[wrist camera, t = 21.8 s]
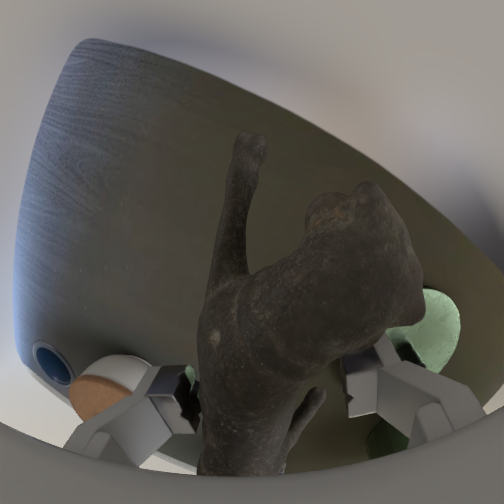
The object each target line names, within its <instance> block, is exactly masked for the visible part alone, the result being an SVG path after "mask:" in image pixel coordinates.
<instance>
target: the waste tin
mask: <svg viewBox="0 0 504 504" xmlns="http://www.w3.org/2000/svg"><path fill="white" fill-rule="evenodd" d="M408 443H409V438H408V437H407V436H405V435H404V434H403V433H401V432H400V431H399V430H398V429H396V428H395V427H394V426H392V425H391V424H390V423H388V422H387V421H386V420H385V419H384V420H383V421H382V422H380V423H379V424H378V425H377V426H376V427H375V428H374V429H373V431H372V432H371V433H370V435H369V437H368V439H367V453H368V457H369V460H372V459H376V458H379V457H383V456H387V455H390V454H394V453H397V452H400V451H403V450H406V449H407V446H408Z"/></svg>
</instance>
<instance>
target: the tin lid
mask: <svg viewBox="0 0 504 504" xmlns="http://www.w3.org/2000/svg"><path fill="white" fill-rule="evenodd" d="M423 294H424V299H425V305H426V313H425V316H424V318H423V319H422V321H420V322H419V323H416V324H415V325H413V326H404V327H394V328H387V330H386V331H385V332H386V334H387V336H388V338H389V340H390V341H391V343H392V345H393V347H394V349H395V350H396V352H397V354H398V356H399V358H400V360H401V362H402V361H405V360H406V361H409V362H411V363H413V364H416V365H418V366H420V367H423V368H425V369H427V370H430V371H432V372H435V373H437V374H438V373H439V372H440V371H441V370H442V368H443V367H444V366H445V365H446V363H447V362H448V361H449V359H450V357H451V356H452V354H453V352H454V350H455V347H456V345H457V342H458V339H459V334H460V317H459V312H458V310H457V307H456V306H455V304H454V303H453V301H452V300H451V299H450V298H449V297H448V296H447V295H445V294H444V293H443V292H441V291H438V290H436V289H432V288H426V287H423Z"/></svg>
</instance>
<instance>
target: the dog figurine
mask: <svg viewBox="0 0 504 504" xmlns="http://www.w3.org/2000/svg"><path fill="white" fill-rule="evenodd" d="M267 154H268V142H267V140H266V138H265V137H264V136H262V135H259V134H254V133H251V132H248V131H244V130H241V132H240V134H239V135H238V136H237V138H236V140H235V143H234V147H233V157H232V161H231V164H230V167H229V170H228V174H227V178H226V194H225V201H224V206H223V211H222V215H221V219H220V222H219V226H218V231H217V235H216V240H215V246H214V251H213V258H212V264H211V270H210V275H209V280H208V284H207V290H206V297H205V303H204V306H203V309H202V312H201V315H200V318H199V323H198V331H197V350H198V362H199V371H200V381H199V399H200V406H201V411H202V415H203V421H202V431H203V441H204V449H203V452H202V454H201V457H200V459H199V462H198V466H197V475H202V476H233V477H238V476H269V475H278V474H279V472H280V471H281V469H282V467H283V465H284V463H285V461H286V458H287V455H288V452H289V450H290V449H291V448H292V447H293V446H294V445H295V444H296V443H297V441H298V439H299V437H300V435H301V433H302V431H303V429H304V428H305V426H306V425H307V424H308V422H309V421H310V420H311V419H312V418H313V417H314V415H315V413H316V411H317V410H318V409H319V407H320V406H321V405H322V404H323V402H324V401H325V399H326V390H325V389H324V388H322V387H314V388H312V389H311V390H309V392H308V394H307V395H306V397H305V398H304V400H303V402H302V403H301V405H300V406H299V407H298V409H297V410H296V411H295V413H294V410H295V404H296V398H297V396H298V394H299V392H300V391H301V389H302V388H303V386H304V385H305V383H306V381H307V380H308V379H311V378H313V377H315V376H316V375H318V374H319V373H320V372H321V371H322V370H323V369H324V367H325V366H326V365H327V364H328V363H330V362H332V361H333V360H335V359H337V358H339V357H341V356H343V355H345V354H346V353H348V352H350V351H351V350H353V349H355V350H365V349H368V348H370V347H371V346H373V345H374V344H376V343H377V342H378V341H379V339H380V338H381V337H382V335H383V334H384V333H385V331H386V330H387V328H394V327H404V326H413V325H415V324H416V323H419V322H420V321H422V319H423V318H424V316H425V313H426V305H425V299H424V294H423V270H422V267H421V264H420V262H419V260H418V258H417V256H416V254H415V252H414V249H413V247H412V244H411V241H410V237H409V233H408V229H407V227H406V225H405V223H404V222H403V220H402V219H401V217H400V216H399V214H398V213H397V211H396V210H395V209H394V207H393V206H392V204H391V203H390V201H389V200H388V198H387V196H386V195H385V194H384V192H383V191H382V190H381V188H380V187H379V186H378V185H377V184H376V183H373V182H361V183H359V184H358V186H357V187H356V188H355V190H354V191H353V193H352V194H351V195H350V196H347V195H345V194H342V193H339V192H329V193H323V194H321V195H319V196H318V197H316V198H315V199H314V200H313V201H312V203H311V204H310V205H309V207H308V209H307V213H306V217H305V228H306V231H305V235H304V237H303V238H302V239H301V241H300V243H299V245H298V248H297V249H296V250H295V251H294V252H293V253H292V254H290V255H289V256H287V257H285V258H283V259H281V260H279V261H278V262H277V263H276V264H274V265H271V266H268V267H265V268H263V269H261V270H260V271H258V272H256V273H255V274H254V275H250V274H249V271H248V265H247V257H246V220H247V214H248V211H249V207H250V203H251V199H252V197H253V194H254V192H255V189H256V187H257V184H258V170H259V167H260V166H261V164H262V163H263V162H264V161H265V159H266V157H267Z"/></svg>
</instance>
